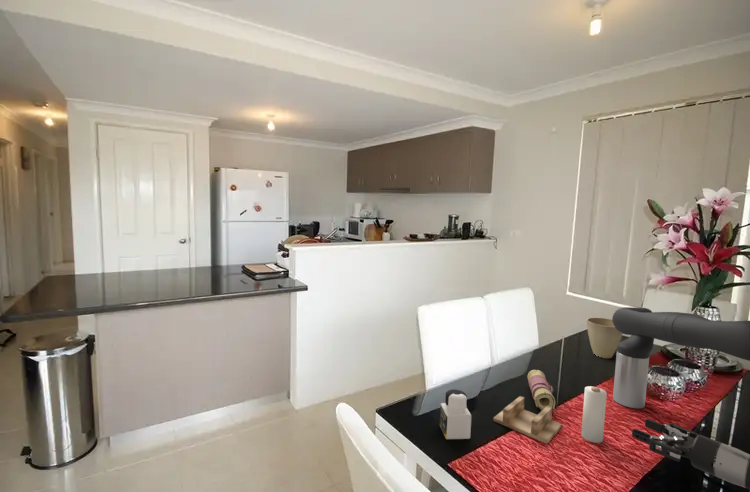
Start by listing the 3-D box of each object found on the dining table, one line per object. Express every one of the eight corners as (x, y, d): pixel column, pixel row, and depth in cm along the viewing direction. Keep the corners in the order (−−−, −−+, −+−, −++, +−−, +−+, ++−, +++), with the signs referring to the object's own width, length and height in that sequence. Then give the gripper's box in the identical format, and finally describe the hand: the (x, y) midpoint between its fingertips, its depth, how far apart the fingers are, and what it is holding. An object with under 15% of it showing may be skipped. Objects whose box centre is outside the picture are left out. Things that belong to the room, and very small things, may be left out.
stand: (510, 407, 125) (511, 392, 124) (561, 427, 114) (562, 411, 113) (493, 420, 116) (494, 405, 116) (546, 443, 105) (548, 426, 104)
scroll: (562, 412, 120) (552, 385, 139) (553, 389, 120) (544, 366, 139) (538, 417, 122) (532, 390, 141) (529, 396, 122) (524, 371, 141)
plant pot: (577, 349, 181) (579, 317, 179) (605, 349, 182) (608, 317, 181) (598, 362, 166) (601, 326, 165) (629, 361, 168) (632, 326, 166)
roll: (584, 429, 112) (587, 382, 111) (604, 437, 109) (608, 388, 108) (578, 437, 109) (582, 388, 107) (600, 445, 105) (604, 394, 104)
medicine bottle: (439, 425, 113) (441, 386, 112) (462, 425, 113) (464, 386, 112) (445, 439, 106) (447, 398, 104) (470, 439, 106) (472, 398, 105)
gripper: (730, 434, 90) (650, 406, 103) (714, 455, 81) (629, 421, 94) (727, 464, 90) (648, 432, 103) (710, 488, 82) (626, 450, 95)
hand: (639, 427), depth 99 cm, fingers open, 8 cm apart
